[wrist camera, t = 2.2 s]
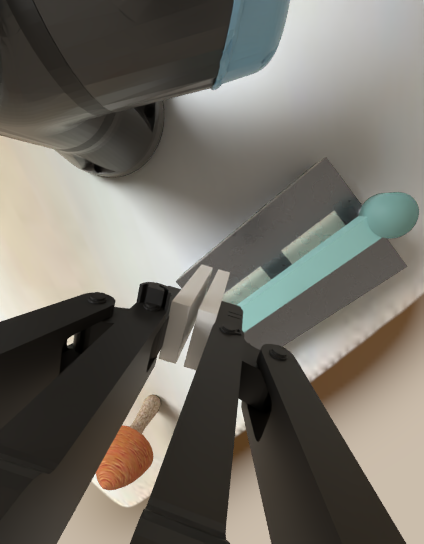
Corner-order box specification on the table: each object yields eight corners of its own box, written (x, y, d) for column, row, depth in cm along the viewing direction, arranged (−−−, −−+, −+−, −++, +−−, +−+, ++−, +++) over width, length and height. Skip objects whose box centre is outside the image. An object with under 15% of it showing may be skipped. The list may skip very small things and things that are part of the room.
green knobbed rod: (386, 184, 25) (402, 182, 23) (409, 217, 26) (428, 218, 23) (200, 322, 32) (195, 333, 29) (221, 346, 32) (218, 359, 30)
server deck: (185, 271, 39) (169, 288, 31) (322, 158, 32) (343, 144, 25) (250, 347, 40) (249, 380, 33) (392, 252, 34) (432, 266, 26)
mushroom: (125, 377, 45) (65, 460, 31) (170, 377, 44) (130, 463, 29) (134, 417, 47) (82, 512, 32) (177, 417, 45) (143, 517, 31)
